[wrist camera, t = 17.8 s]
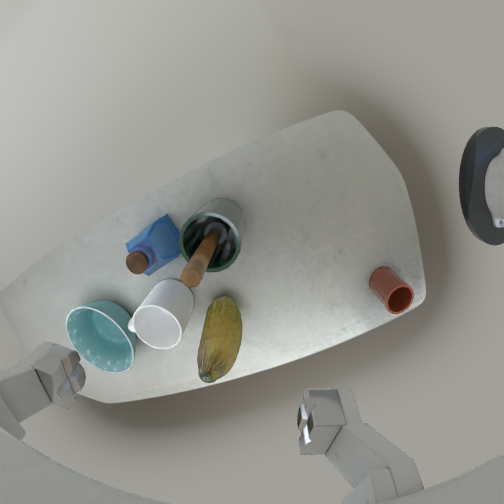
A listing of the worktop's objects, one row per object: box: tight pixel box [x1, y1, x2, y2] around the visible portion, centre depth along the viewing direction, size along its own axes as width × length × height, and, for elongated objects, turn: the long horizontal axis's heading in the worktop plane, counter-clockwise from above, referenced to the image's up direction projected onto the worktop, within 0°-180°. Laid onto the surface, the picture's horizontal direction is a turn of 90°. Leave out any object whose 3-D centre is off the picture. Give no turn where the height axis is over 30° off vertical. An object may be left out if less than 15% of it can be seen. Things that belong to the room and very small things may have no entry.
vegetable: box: [197, 297, 242, 383], centre depth 40 cm, size 6×6×20 cm
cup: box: [179, 198, 245, 272], centre depth 39 cm, size 7×8×13 cm
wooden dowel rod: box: [180, 217, 231, 288], centre depth 34 cm, size 3×3×22 cm
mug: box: [128, 279, 194, 349], centre depth 45 cm, size 12×8×10 cm
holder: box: [369, 267, 414, 314], centre depth 44 cm, size 5×5×8 cm
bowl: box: [66, 300, 136, 374], centre depth 48 cm, size 16×16×8 cm
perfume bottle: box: [126, 214, 181, 276], centre depth 40 cm, size 6×6×12 cm
